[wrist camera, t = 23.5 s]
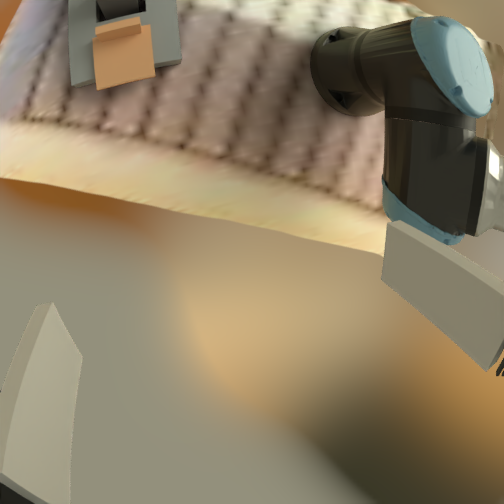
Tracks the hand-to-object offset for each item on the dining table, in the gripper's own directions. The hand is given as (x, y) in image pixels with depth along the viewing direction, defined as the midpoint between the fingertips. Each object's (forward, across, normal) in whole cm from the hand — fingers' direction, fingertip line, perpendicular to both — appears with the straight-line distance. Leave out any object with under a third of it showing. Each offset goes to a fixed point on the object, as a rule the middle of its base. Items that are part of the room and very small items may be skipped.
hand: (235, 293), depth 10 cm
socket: (+32, +5, -23) cm, 39 cm away
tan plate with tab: (+29, +5, -16) cm, 33 cm away
